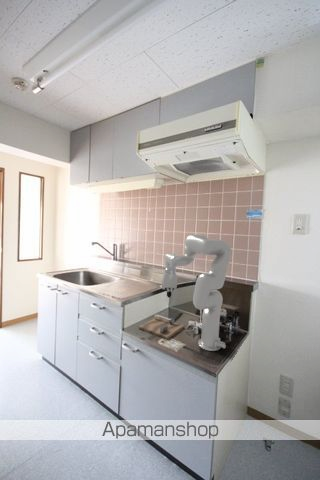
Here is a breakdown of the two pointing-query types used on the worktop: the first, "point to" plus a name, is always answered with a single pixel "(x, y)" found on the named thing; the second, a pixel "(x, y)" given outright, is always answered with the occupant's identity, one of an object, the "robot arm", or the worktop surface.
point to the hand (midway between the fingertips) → (168, 296)
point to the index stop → (163, 329)
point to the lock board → (155, 325)
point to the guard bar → (164, 319)
